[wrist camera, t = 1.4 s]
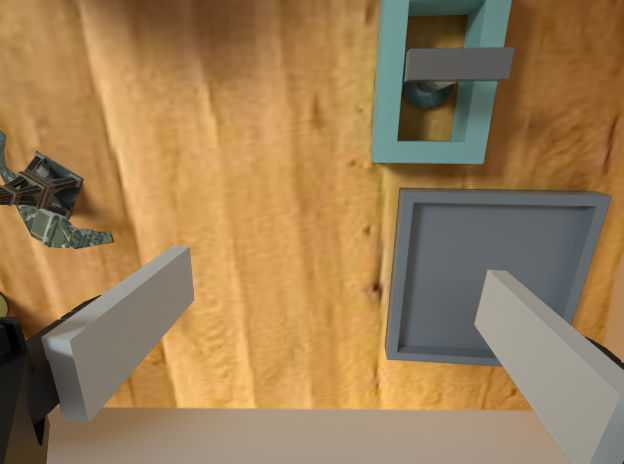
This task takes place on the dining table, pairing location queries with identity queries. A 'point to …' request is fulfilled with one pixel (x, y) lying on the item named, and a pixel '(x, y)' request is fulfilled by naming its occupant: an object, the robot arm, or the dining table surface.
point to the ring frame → (470, 96)
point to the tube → (3, 307)
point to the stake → (451, 71)
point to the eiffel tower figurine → (47, 201)
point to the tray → (482, 262)
